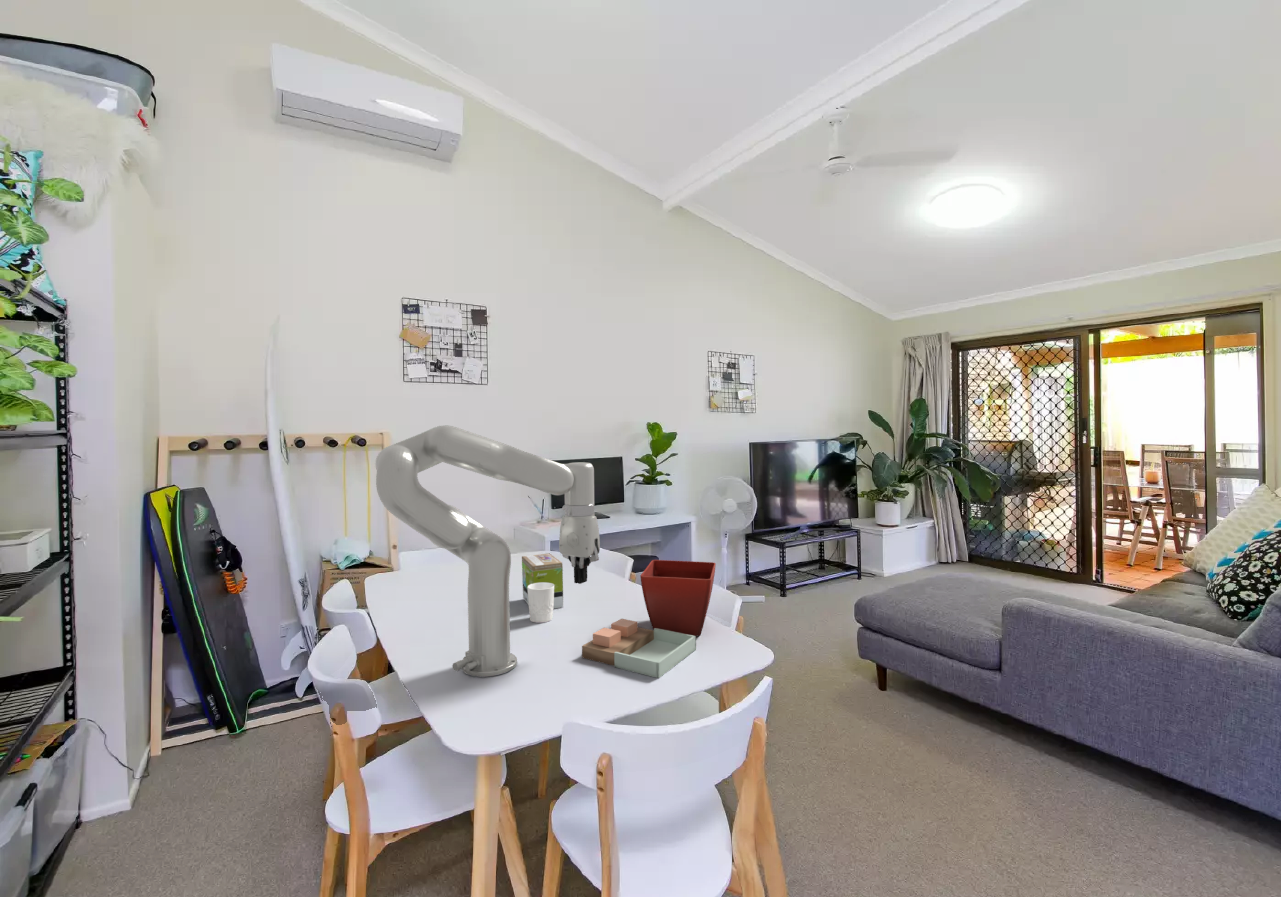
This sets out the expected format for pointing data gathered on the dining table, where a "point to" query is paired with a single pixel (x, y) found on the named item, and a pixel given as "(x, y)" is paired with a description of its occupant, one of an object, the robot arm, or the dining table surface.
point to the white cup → (541, 601)
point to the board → (617, 647)
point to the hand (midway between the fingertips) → (580, 582)
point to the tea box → (543, 575)
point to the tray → (658, 653)
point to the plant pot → (678, 594)
